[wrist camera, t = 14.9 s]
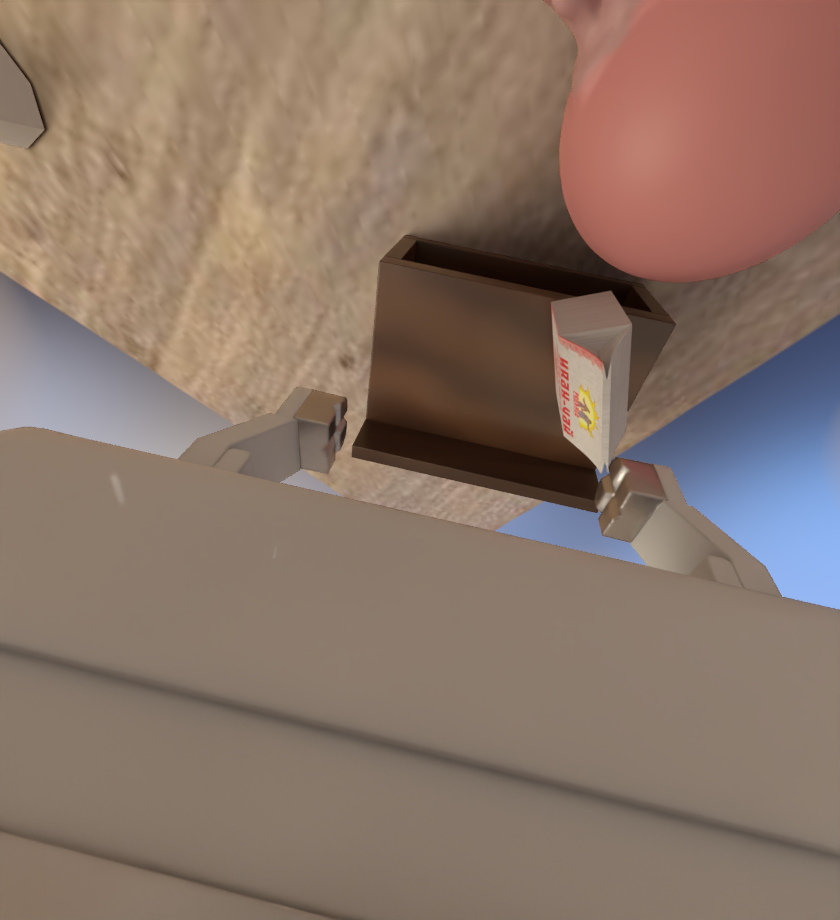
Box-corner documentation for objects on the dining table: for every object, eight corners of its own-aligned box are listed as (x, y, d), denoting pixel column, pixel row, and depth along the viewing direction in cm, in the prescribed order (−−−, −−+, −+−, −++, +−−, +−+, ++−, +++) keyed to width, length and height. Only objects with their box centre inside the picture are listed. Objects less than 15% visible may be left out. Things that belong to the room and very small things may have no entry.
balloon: (679, -241, 20) (921, -770, 8) (857, 109, 26) (1144, 92, 14) (458, 85, 29) (421, 54, 17) (631, 293, 35) (695, 378, 23)
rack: (405, 234, 35) (362, 277, 25) (643, 284, 34) (698, 349, 24) (387, 381, 44) (351, 457, 34) (576, 423, 43) (597, 513, 33)
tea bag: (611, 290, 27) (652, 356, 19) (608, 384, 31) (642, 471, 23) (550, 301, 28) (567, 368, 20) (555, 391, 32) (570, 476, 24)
